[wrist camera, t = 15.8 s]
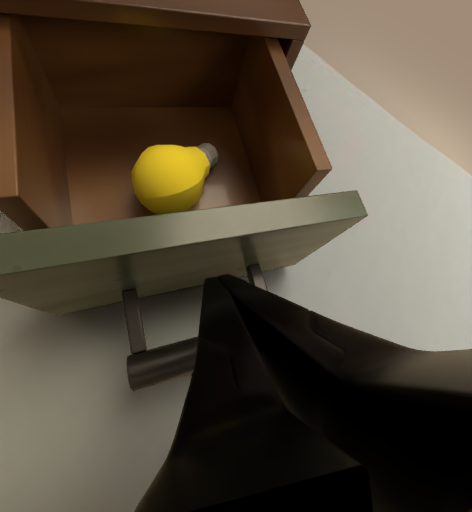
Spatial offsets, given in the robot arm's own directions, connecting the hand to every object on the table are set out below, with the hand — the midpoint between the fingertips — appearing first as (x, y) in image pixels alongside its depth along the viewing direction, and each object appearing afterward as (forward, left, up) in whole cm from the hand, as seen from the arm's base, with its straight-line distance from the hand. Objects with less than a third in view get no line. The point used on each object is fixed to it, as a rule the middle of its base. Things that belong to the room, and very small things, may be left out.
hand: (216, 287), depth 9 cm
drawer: (+5, -1, -6) cm, 8 cm away
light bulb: (+7, -2, -5) cm, 9 cm away
